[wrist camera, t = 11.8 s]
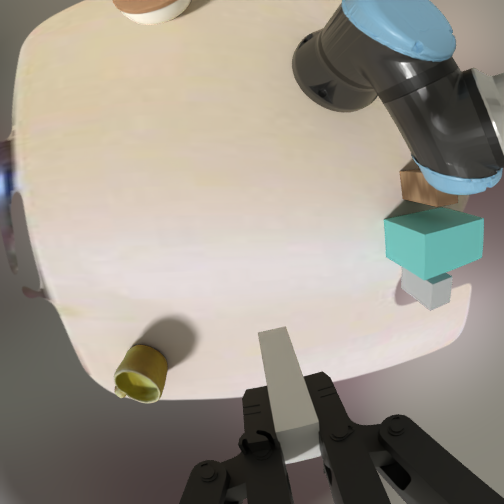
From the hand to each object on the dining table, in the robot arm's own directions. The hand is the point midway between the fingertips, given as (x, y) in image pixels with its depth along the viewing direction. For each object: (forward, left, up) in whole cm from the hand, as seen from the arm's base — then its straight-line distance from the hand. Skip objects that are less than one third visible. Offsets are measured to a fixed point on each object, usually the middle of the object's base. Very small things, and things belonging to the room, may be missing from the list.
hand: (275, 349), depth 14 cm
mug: (+21, -26, -30) cm, 45 cm away
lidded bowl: (-43, -6, -30) cm, 53 cm away
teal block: (+6, +31, -30) cm, 44 cm away
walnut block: (-3, +31, -29) cm, 43 cm away
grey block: (+15, +30, -29) cm, 44 cm away
